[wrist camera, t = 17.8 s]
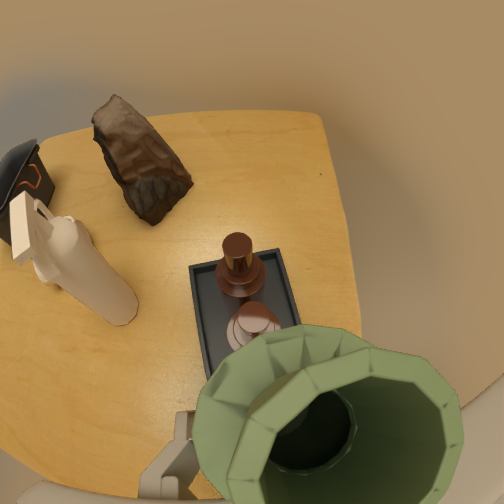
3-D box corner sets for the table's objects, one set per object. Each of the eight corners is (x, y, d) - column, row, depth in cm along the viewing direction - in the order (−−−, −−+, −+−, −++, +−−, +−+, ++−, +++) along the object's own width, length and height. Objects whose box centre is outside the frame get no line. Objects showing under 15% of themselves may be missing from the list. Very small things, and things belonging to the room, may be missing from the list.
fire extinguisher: (124, 260, 42) (42, 148, 20) (151, 323, 37) (43, 230, 15) (92, 279, 40) (-3, 184, 18) (115, 343, 35) (-11, 274, 13)
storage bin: (31, 187, 52) (4, 151, 39) (73, 174, 53) (47, 130, 40) (6, 259, 42) (-33, 225, 29) (48, 252, 43) (6, 211, 30)
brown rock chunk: (152, 234, 44) (105, 144, 26) (109, 207, 47) (63, 128, 30) (196, 183, 49) (175, 90, 32) (150, 164, 52) (122, 83, 35)
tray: (321, 414, 31) (326, 416, 28) (223, 436, 29) (220, 440, 27) (277, 256, 42) (279, 247, 39) (192, 273, 41) (188, 265, 38)
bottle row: (277, 363, 34) (296, 341, 18) (239, 371, 33) (225, 357, 18) (258, 287, 39) (260, 214, 23) (223, 295, 38) (202, 225, 23)
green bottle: (320, 428, 17) (510, 496, 1) (242, 446, 16) (199, 617, 1) (302, 357, 20) (453, 229, 4) (225, 374, 19) (101, 304, 3)
